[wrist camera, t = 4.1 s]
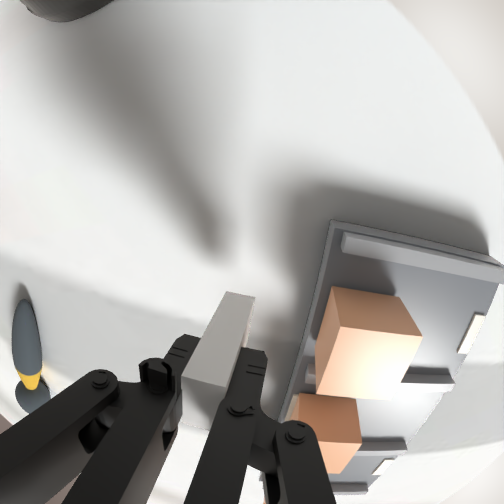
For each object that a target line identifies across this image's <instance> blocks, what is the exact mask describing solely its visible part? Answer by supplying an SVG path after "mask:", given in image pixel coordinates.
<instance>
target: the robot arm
mask: <svg viewBox="0 0 504 504" xmlns="http://www.w3.org/2000/svg"><path fill="white" fill-rule="evenodd" d="M20 1H21V2H22V3H23V4H24V5H25V6H26V7H27V9H28V10H29V11H30V12H31V13H33V14H34V15H36V16H39V17H42V18H45V19H48V20H51V21H54V22H66V21H71V20H75V19H78V18H81V17H83V16H85V15H88V14H90V13H92V12H94V11H96V10H98V9H100V8H101V7H103V6H105V5H107V4H108V3H110V2H111V1H113V0H20ZM254 302H255V297H251V296H246V295H241V294H237V293H232V292H227V291H226V293H225V295H224V297H223V298H222V300H221V302H220V304H219V306H218V308H217V310H216V311H215V313H214V315H213V317H212V319H211V321H210V323H209V325H208V326H207V328H206V330H205V332H204V334H203V336H202V338H198V337H195V336H191V335H187V334H184V335H182V336H181V337H179V338H177V339H176V340H175V342H174V343H173V345H172V347H171V348H170V350H169V351H168V353H167V354H166V356H165V357H164V359H161V358H149V359H146V360H144V361H142V362H141V363H140V364H139V371H140V380H141V382H137V383H131V382H121V381H118V380H117V377H116V376H115V375H114V374H113V373H112V372H110V371H108V370H102V369H99V370H93V371H91V372H89V373H87V374H86V375H85V376H83V377H82V378H80V379H79V380H77V381H76V382H75V383H73V384H72V385H70V386H69V387H67V388H66V389H65V390H63V391H62V392H60V393H59V394H57V395H56V396H55V397H53V398H52V399H50V400H49V401H47V402H46V403H45V404H43V405H42V406H40V407H39V408H37V409H36V410H35V411H33V412H32V413H30V414H29V415H27V416H26V417H24V418H23V419H22V420H20V421H19V422H17V423H16V424H14V425H13V426H12V427H10V428H9V429H8V430H6V431H4V432H3V433H2V434H0V504H45V503H46V502H47V501H49V500H50V499H51V498H52V497H53V496H54V495H56V494H57V493H58V492H59V491H60V490H61V489H63V488H64V487H65V486H66V485H67V484H68V483H69V482H71V481H72V480H73V479H74V478H75V477H76V476H77V475H79V474H80V473H81V474H80V475H79V477H78V478H77V480H76V482H75V483H74V485H73V486H72V488H71V489H70V491H69V493H68V494H67V496H66V497H65V499H64V501H63V502H62V504H146V503H147V500H148V498H149V496H150V494H151V492H152V489H153V487H154V485H155V483H156V480H157V478H158V476H159V474H160V471H161V469H162V467H163V465H164V462H165V460H166V458H167V456H168V453H169V451H170V449H171V447H172V444H173V442H174V440H175V438H176V435H177V432H178V423H179V421H180V419H181V416H182V423H183V424H186V425H190V426H193V427H197V428H201V429H204V430H208V431H210V432H209V435H208V437H207V440H206V443H205V446H204V449H203V452H202V454H201V457H200V460H199V463H198V465H197V468H196V471H195V474H194V477H193V479H192V482H191V485H190V488H189V490H188V493H187V496H186V498H185V501H184V504H238V503H239V499H240V495H241V491H242V486H243V482H244V477H245V473H246V469H247V465H249V466H251V467H253V468H255V469H258V470H260V471H261V472H262V480H263V487H264V495H265V502H266V504H336V501H335V497H334V494H333V490H332V487H331V484H330V480H329V477H328V474H327V470H326V467H325V463H324V460H323V457H322V453H321V450H320V447H319V443H318V440H317V437H316V433H315V432H314V430H313V428H312V427H311V426H309V425H308V424H307V423H304V422H302V421H297V420H290V421H285V422H283V423H279V422H277V421H275V420H273V419H271V418H269V417H268V416H267V415H265V414H264V412H263V411H262V410H261V407H260V398H261V393H262V387H263V382H264V377H265V371H266V366H267V360H268V359H267V357H266V355H265V352H264V351H260V350H255V349H250V348H246V345H247V341H248V336H249V331H250V325H251V319H252V313H253V307H254Z"/></svg>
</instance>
